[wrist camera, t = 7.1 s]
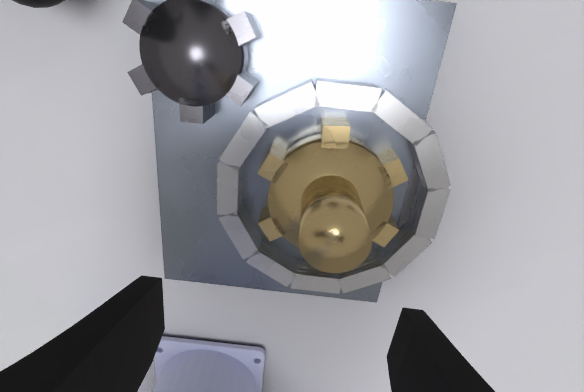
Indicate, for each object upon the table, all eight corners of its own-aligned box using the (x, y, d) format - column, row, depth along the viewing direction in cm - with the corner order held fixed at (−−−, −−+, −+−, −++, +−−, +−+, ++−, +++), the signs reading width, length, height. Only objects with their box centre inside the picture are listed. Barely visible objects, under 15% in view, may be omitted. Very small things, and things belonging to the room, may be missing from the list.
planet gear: (385, 252, 19) (410, 321, 15) (262, 245, 19) (247, 312, 15) (408, 121, 16) (448, 155, 11) (260, 115, 16) (241, 146, 12)
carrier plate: (396, 291, 22) (409, 330, 19) (170, 266, 22) (149, 301, 19) (479, 9, 15) (519, 2, 12) (153, -27, 15) (116, -43, 12)
